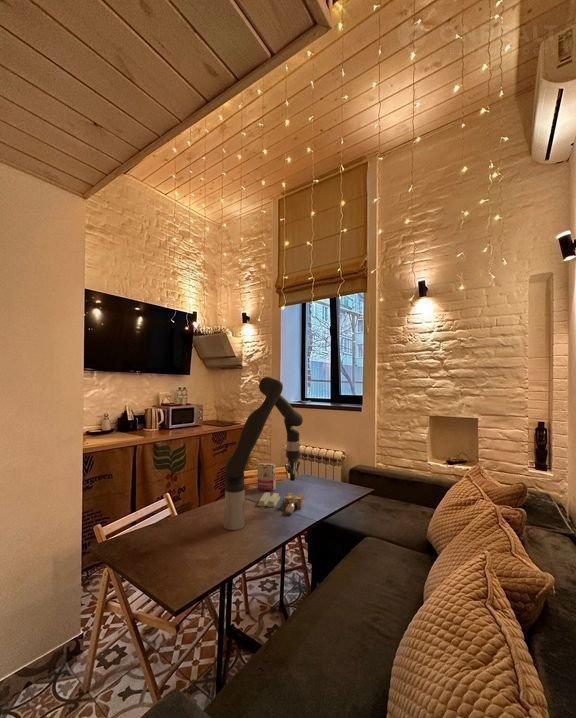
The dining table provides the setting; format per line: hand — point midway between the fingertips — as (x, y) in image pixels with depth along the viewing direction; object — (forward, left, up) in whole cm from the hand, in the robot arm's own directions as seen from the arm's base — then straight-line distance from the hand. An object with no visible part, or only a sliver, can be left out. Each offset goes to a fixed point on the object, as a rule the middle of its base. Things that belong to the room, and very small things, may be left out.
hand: (292, 480), depth 185 cm
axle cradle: (-15, +4, -14) cm, 21 cm away
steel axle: (0, -5, -14) cm, 15 cm away
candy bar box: (-22, +26, -14) cm, 37 cm away
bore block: (0, +4, -14) cm, 15 cm away
